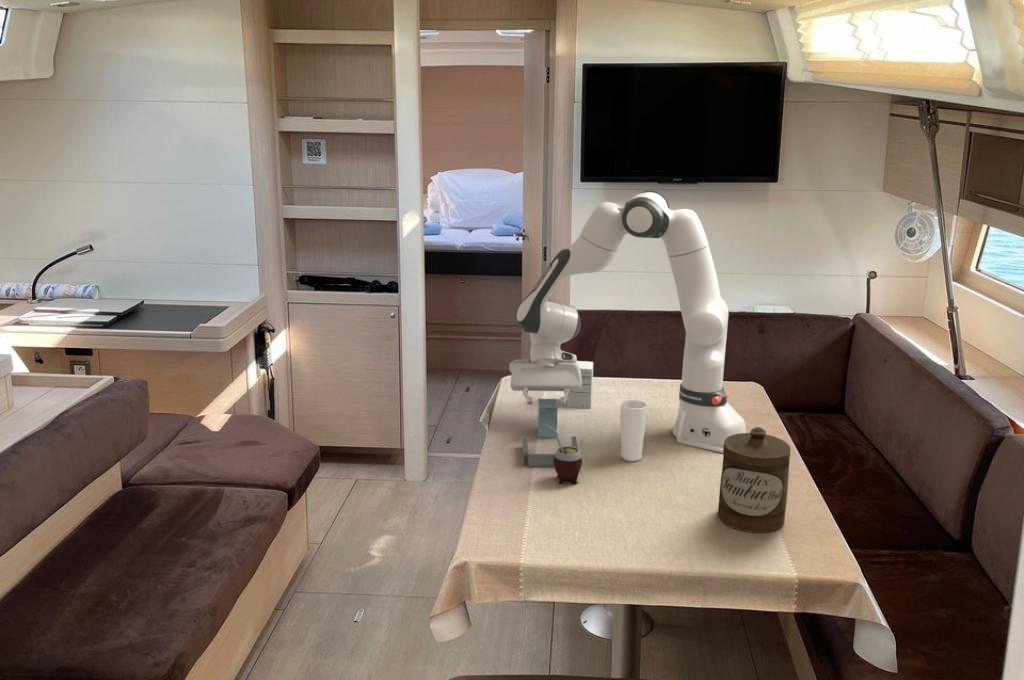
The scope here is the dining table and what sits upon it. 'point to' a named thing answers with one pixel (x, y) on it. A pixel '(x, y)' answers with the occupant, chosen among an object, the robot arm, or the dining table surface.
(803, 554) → the dining table surface
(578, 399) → the supplement box
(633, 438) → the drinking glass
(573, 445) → the coupler bay
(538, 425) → the block
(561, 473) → the mate gourd
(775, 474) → the wooden container
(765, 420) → the dining table surface
